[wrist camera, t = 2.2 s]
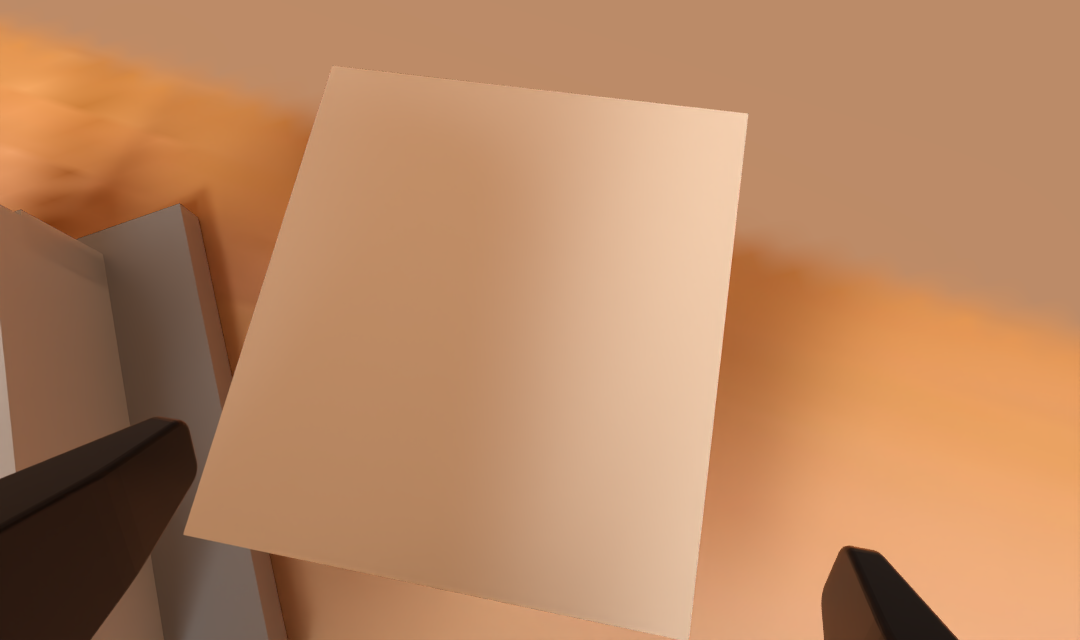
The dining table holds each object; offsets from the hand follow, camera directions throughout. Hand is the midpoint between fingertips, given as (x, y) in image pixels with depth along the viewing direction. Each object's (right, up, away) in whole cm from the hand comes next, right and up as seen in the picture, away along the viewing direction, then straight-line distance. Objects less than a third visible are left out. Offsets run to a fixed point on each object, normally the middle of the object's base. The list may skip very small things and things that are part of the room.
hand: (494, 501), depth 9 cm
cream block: (+1, -1, +9) cm, 9 cm away
